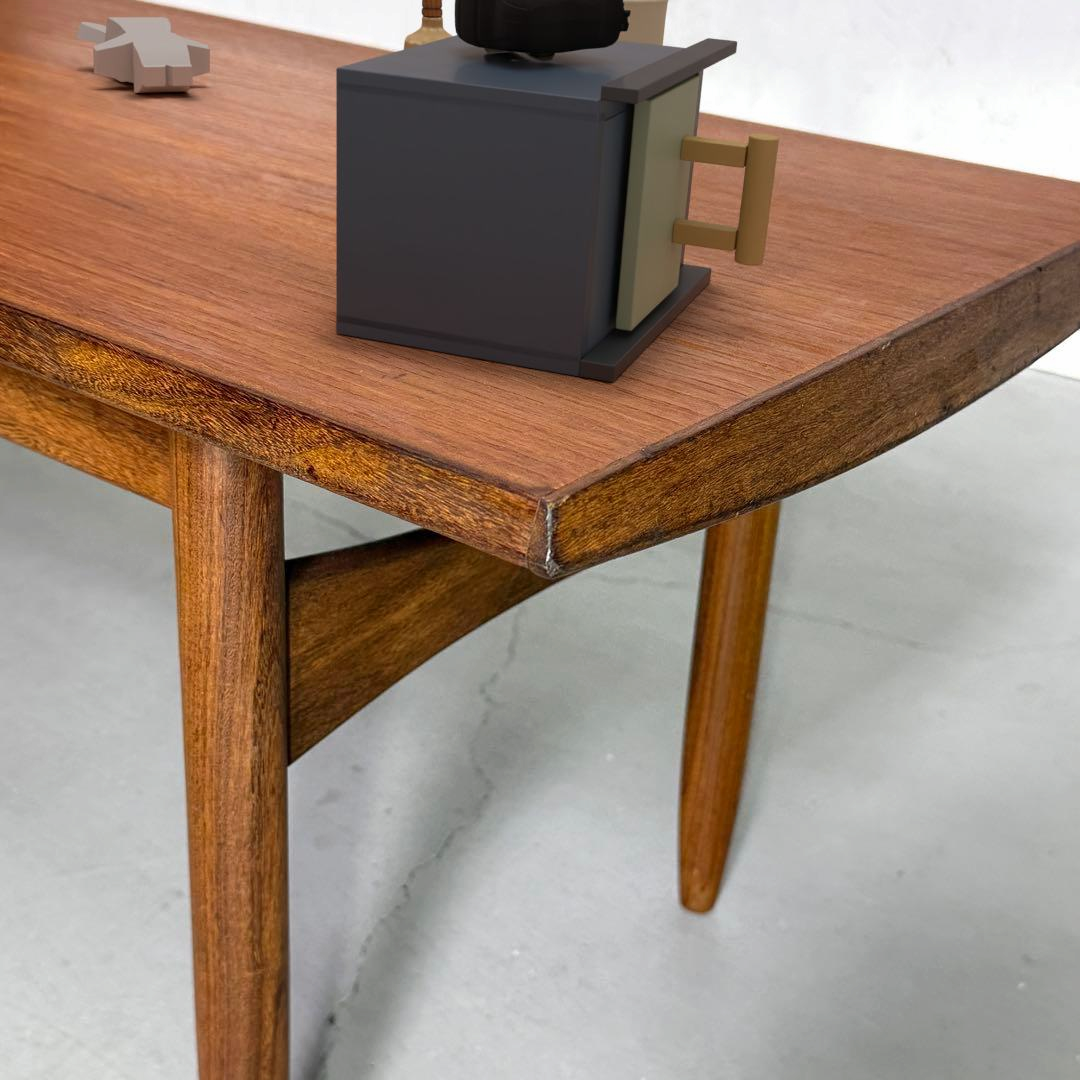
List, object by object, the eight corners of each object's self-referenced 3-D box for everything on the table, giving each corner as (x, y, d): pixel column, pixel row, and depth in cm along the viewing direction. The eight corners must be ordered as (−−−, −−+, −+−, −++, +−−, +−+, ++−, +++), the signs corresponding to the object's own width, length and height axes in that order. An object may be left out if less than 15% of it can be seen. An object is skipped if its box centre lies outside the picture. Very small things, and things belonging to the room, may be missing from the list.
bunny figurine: (108, 47, 115) (62, -2, 126) (110, 112, 118) (65, 59, 129) (226, 45, 120) (172, -2, 130) (226, 108, 122) (173, 57, 133)
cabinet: (710, 282, 81) (737, 41, 75) (613, 383, 66) (638, 89, 60) (479, 246, 85) (488, 14, 79) (335, 333, 69) (335, 53, 64)
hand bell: (442, 119, 119) (449, -98, 112) (359, 103, 122) (361, -107, 115) (499, 106, 125) (508, -100, 118) (419, 92, 129) (423, -108, 122)
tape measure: (517, 72, 66) (522, -17, 64) (423, 48, 71) (425, -36, 69) (626, 64, 70) (634, -20, 69) (532, 42, 75) (536, -38, 73)
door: (765, 300, 74) (792, 86, 70) (726, 347, 67) (754, 112, 63) (663, 283, 76) (683, 73, 71) (614, 329, 69) (634, 98, 64)
